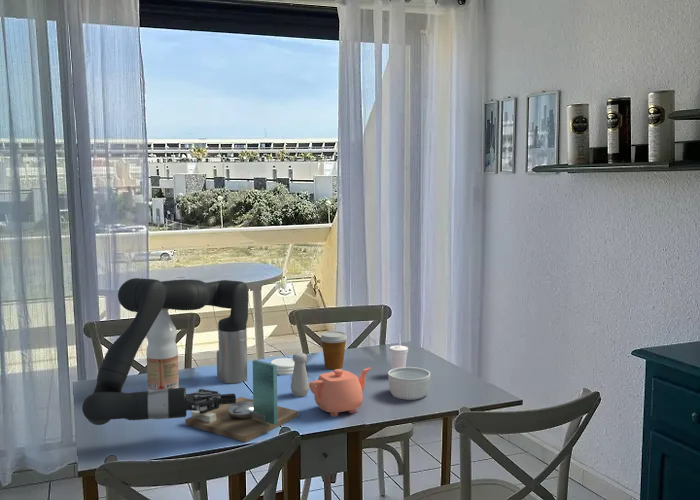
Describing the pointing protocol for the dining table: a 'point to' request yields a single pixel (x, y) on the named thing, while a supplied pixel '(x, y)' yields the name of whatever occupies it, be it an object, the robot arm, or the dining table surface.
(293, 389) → the salt shaker
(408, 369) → the ramekin
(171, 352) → the fruit juice
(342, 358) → the disposable coffee cup
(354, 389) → the teapot
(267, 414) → the teal flat rectangular slab
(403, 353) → the smoothie
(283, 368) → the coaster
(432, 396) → the dining table surface
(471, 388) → the dining table surface
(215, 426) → the wooden cutting board
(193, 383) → the dining table surface
